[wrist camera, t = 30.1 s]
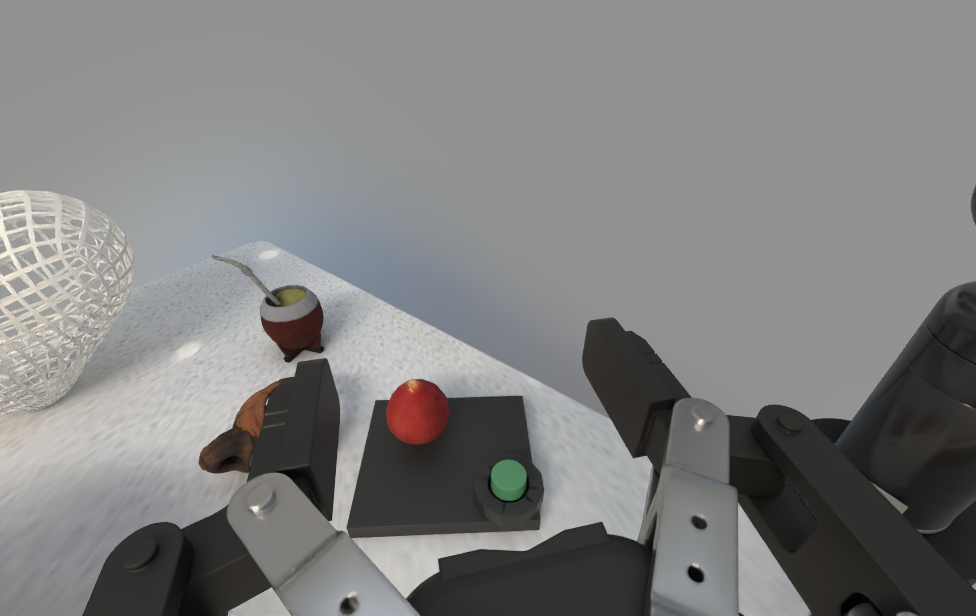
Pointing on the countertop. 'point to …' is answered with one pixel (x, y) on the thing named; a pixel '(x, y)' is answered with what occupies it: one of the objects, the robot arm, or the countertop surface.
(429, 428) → the onion
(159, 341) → the countertop surface
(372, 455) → the scale
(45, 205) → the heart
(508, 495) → the button
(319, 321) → the mate gourd
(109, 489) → the countertop surface
